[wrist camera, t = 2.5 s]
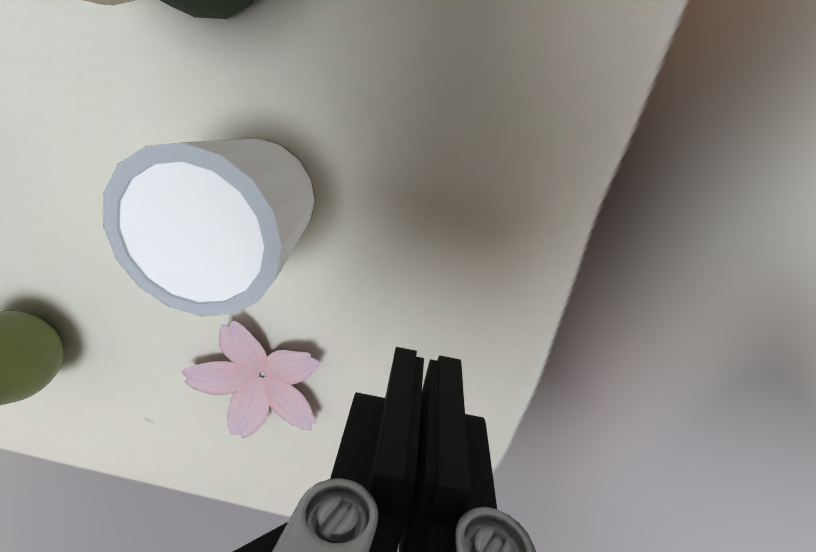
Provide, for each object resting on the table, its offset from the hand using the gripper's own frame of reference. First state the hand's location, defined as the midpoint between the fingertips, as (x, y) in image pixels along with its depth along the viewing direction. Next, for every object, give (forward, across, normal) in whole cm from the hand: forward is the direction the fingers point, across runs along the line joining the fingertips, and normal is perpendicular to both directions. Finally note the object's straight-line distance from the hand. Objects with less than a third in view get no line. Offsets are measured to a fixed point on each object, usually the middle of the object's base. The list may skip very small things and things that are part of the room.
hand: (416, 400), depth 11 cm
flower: (+13, +8, +10) cm, 19 cm away
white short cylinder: (+13, +9, -1) cm, 16 cm away
